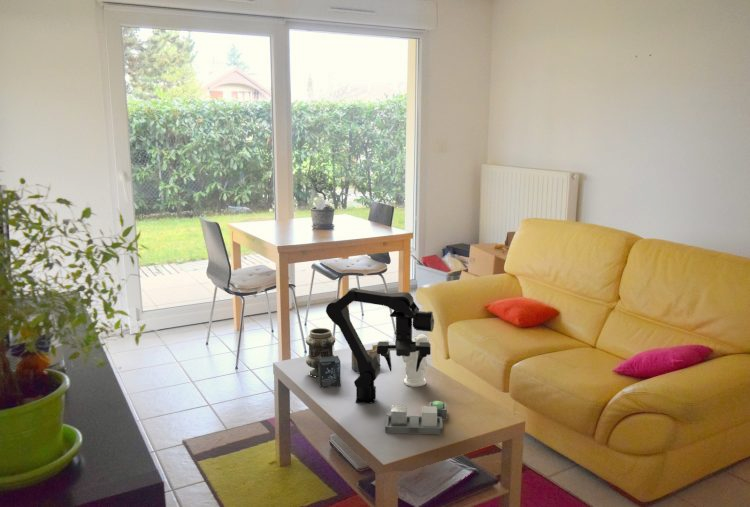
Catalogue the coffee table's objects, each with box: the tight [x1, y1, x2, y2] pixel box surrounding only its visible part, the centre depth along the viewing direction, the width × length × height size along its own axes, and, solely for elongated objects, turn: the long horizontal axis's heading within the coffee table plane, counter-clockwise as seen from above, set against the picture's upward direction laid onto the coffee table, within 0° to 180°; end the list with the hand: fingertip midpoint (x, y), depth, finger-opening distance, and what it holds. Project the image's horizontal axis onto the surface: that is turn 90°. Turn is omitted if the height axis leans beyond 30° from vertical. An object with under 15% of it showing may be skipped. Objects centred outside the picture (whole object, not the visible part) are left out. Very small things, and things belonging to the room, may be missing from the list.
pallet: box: [384, 405, 444, 435], centre depth 216 cm, size 19×9×6 cm, turn 86°
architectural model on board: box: [351, 343, 381, 371], centre depth 269 cm, size 11×3×10 cm, turn 108°
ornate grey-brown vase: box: [305, 327, 336, 377], centre depth 262 cm, size 12×12×18 cm
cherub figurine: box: [401, 331, 430, 388], centre depth 251 cm, size 12×12×22 cm
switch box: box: [428, 401, 448, 420], centre depth 225 cm, size 6×6×4 cm
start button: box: [432, 400, 443, 409], centre depth 225 cm, size 4×4×4 cm
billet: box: [390, 404, 408, 426], centre depth 217 cm, size 5×5×6 cm
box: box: [318, 355, 341, 388], centre depth 252 cm, size 8×6×11 cm
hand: (403, 371), depth 232 cm, fingers open, 9 cm apart
